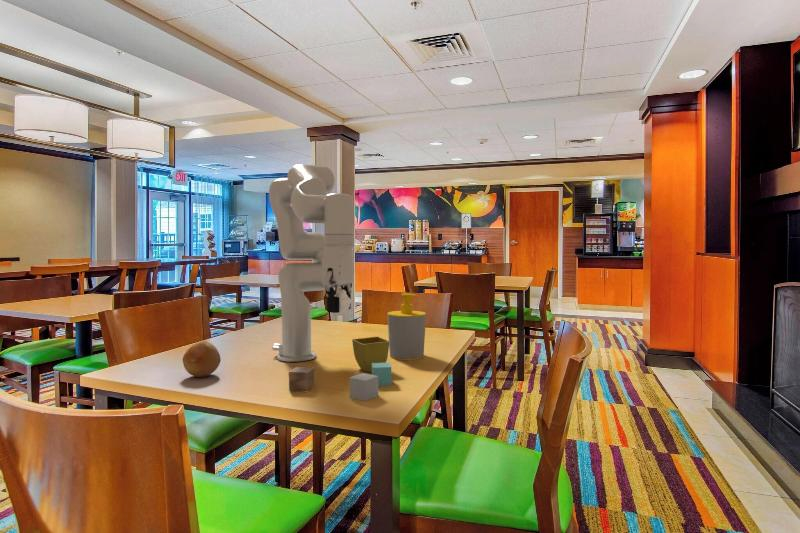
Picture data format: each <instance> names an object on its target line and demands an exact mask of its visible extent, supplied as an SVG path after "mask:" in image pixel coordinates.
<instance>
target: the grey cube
mask: <svg viewBox="0 0 800 533" xmlns="http://www.w3.org/2000/svg"><path fill="white" fill-rule="evenodd" d="M378 396H379V386H378V376H376V375H372V374H370V373H365V372H361V373H359V374H356V375H352V376H350V377H349V398H351V399H355V400H360V401H364V402H367V401H370V400H372V399H374V398H376V397H378Z"/></svg>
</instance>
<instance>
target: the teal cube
mask: <svg viewBox="0 0 800 533" xmlns="http://www.w3.org/2000/svg"><path fill="white" fill-rule="evenodd" d="M371 375H376V376H378V387H384V386H385V387H389V386H392V365H391V363H390V362H386V363H372V371H371Z"/></svg>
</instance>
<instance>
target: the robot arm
mask: <svg viewBox="0 0 800 533" xmlns="http://www.w3.org/2000/svg"><path fill="white" fill-rule="evenodd" d="M334 186H335V175H334V172H333V171H332V169H331V168H329V167H328V166H323V165H314V164H305V163H304V164H303V163H301V164H299V163H298V164H295V165H293V166H292V167H291V168H290V169H289V170H288V172H287V178H278V179H275V180H273V181H271V183H270V185H269V189H268V199H269V203H270V204H269V205H270V207H271V210H272V213H273V215H274V217H275V220H276V224H277V234H278V242H279V244H278V245H279V249H280V255H281V256H282V258H283V259H284V260H289V261H312V262H290V263H286V264H283V265H282V266H280V268H279V269H278V276H277V277H278V285H279V290H280V300H281V301H280V302H281V343H274V344H273V347H272V351H278V354H277V355H276V357H277V360H278V361H282V362H287V363H288V362H289V363H292V362H293V363H295V362H304V361H305V362H306V361H310V360H313V359H315V358H316V357H317V353H316V352H315V351H312V306H311V303H310V302H311V301H309V298H308V297H306V295H305V294H304V292H315V291H316V292H318V291H319V292H320V291H325V296H326V303H327V304H326V308H327V310H326V311H327V313H332V314H333V313H338V312H339V297H338V292H339V288H340V289H344V290H345V291H346V294H347V295H348V297H349V298H350V299H351V300H352V298H351V297H352V296H351V295H352V287H353V283H354V270H355V268H354V254H353V248H354V245H355V244H354V242H355V241H354V230H355V229H354V198H353V196H352V195H351V194H348V193H338V192H337V193H336V192H334V193H331V192H332V191H333V188H334ZM304 223H306V224H324V225H323V226H324V228H323V229H324V230H323V231H324V233H323V234H322V233H320V232H315V231H313V232H312V231H311V232H308V231H307V232H306V231H305V228H304ZM334 290H335V291H334ZM351 309H352V303H351V304H350V307H349V309H348V310H351Z"/></svg>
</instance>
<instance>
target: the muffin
mask: <svg viewBox="0 0 800 533" xmlns="http://www.w3.org/2000/svg"><path fill="white" fill-rule="evenodd" d="M334 291H335V289H334ZM338 297H339V312H338V313H332V315H334V316H345V315H346V314H347V312H348V311H349V310H350V309H349V307H350V304H351V305H352V298H351V299H350V298H349V297H348V295H347V294H346V291H345V290H344V289H340V287H339V292H338Z"/></svg>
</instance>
